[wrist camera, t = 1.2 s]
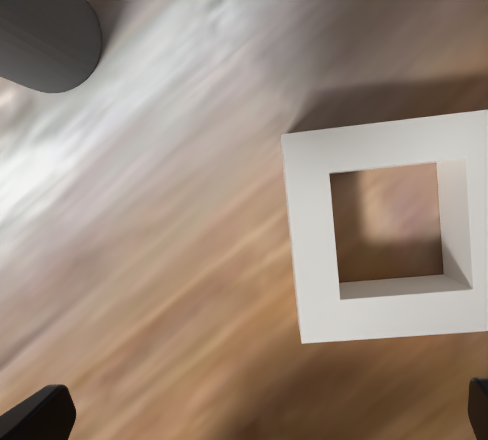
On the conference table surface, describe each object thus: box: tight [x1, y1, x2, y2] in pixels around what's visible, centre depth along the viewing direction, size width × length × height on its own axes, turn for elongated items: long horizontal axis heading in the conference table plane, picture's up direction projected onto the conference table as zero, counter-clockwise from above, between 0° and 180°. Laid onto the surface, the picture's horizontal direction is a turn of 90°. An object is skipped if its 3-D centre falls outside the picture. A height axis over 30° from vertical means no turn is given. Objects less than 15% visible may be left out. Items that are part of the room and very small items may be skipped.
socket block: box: [281, 110, 488, 344], centre depth 13 cm, size 22×17×14 cm
